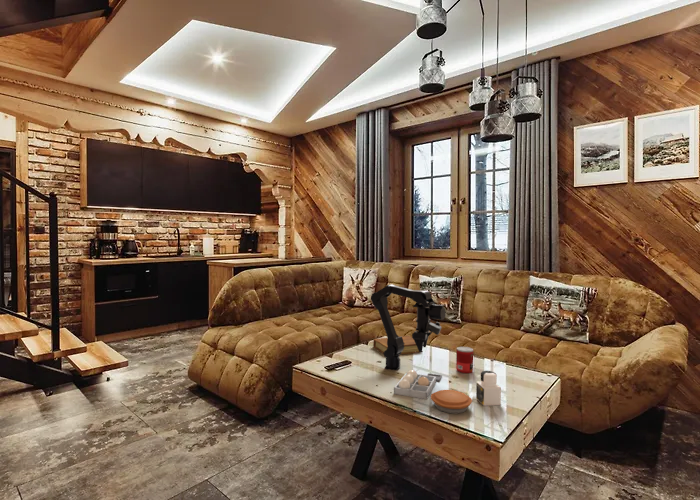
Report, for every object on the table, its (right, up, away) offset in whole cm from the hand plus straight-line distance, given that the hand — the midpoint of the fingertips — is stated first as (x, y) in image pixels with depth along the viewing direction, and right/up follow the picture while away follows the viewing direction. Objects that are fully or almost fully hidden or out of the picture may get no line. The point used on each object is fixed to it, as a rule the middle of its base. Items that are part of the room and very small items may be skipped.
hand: (422, 349), depth 188 cm
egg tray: (-6, -12, -17) cm, 22 cm away
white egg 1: (-7, -9, -9) cm, 15 cm away
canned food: (+22, -12, +6) cm, 26 cm away
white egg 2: (-9, -9, -15) cm, 20 cm away
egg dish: (+4, -12, -5) cm, 14 cm away
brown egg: (-3, -10, -18) cm, 21 cm away
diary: (-7, -12, +43) cm, 45 cm away
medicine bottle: (+20, -13, -31) cm, 39 cm away
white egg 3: (-12, -10, -22) cm, 26 cm away
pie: (+4, -13, -36) cm, 39 cm away
